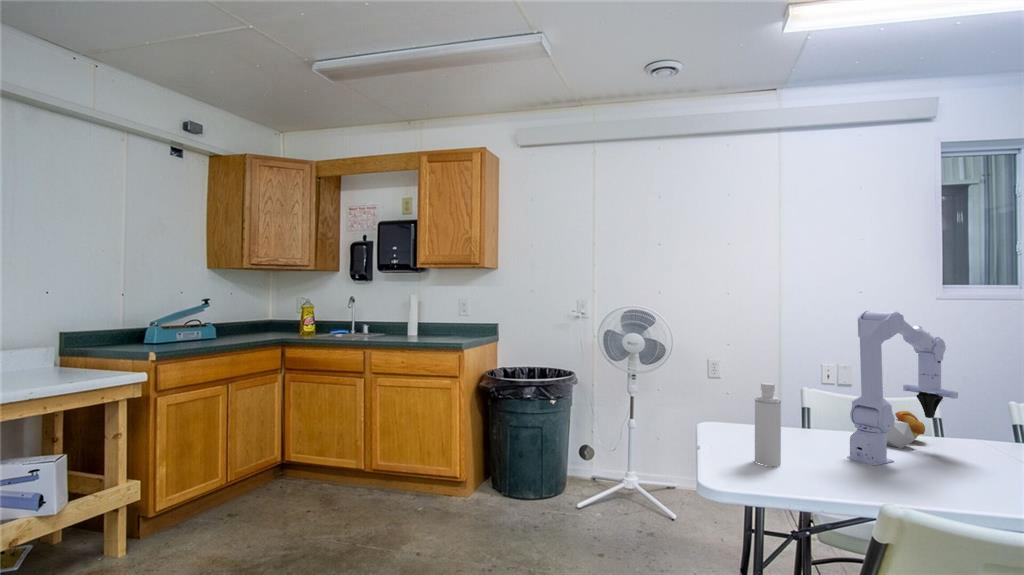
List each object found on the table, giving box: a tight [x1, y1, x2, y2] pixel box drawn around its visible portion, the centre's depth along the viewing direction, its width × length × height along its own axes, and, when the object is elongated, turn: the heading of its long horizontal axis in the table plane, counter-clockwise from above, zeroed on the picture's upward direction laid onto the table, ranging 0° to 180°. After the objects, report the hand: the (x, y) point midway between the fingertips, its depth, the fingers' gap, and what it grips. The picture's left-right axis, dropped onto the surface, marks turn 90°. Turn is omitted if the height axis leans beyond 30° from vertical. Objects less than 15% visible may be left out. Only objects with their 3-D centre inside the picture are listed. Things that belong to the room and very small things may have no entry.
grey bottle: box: [754, 382, 782, 467], centre depth 153 cm, size 7×7×25 cm
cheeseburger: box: [894, 410, 926, 440], centre depth 182 cm, size 10×11×10 cm
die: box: [887, 419, 916, 449], centre depth 174 cm, size 8×9×10 cm
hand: (929, 417), depth 169 cm, fingers closed
